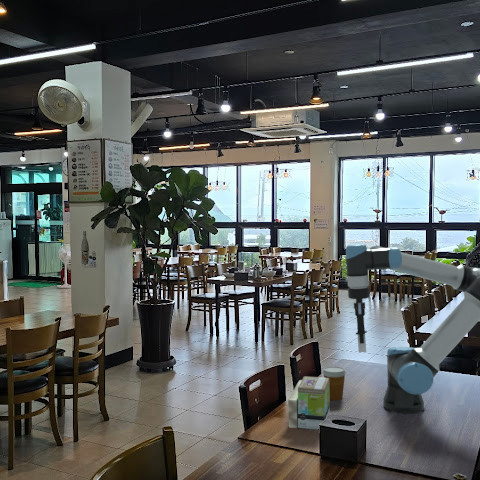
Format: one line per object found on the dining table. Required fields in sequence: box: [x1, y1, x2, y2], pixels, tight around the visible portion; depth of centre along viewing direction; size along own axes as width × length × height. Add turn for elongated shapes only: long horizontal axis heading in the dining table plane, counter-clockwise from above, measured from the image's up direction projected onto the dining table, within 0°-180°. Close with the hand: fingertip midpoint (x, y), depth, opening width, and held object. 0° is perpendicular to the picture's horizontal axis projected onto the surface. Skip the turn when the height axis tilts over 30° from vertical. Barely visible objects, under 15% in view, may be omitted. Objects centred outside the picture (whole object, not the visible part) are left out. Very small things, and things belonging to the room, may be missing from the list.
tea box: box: [297, 376, 331, 431], centre depth 200 cm, size 15×10×15 cm, turn 165°
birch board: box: [287, 379, 302, 429], centre depth 207 cm, size 3×24×10 cm, turn 164°
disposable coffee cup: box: [322, 365, 347, 401], centre depth 226 cm, size 10×10×12 cm
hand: (362, 351), depth 200 cm, fingers closed
